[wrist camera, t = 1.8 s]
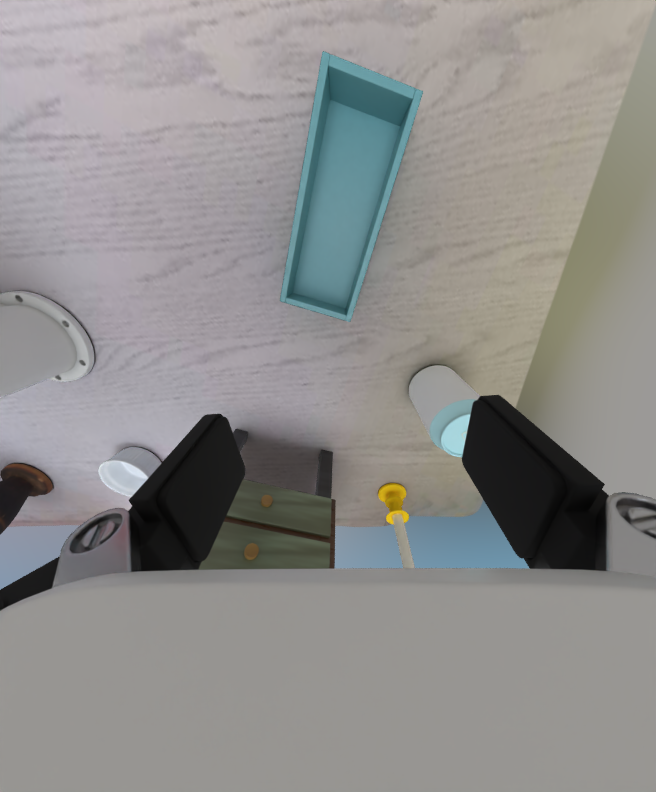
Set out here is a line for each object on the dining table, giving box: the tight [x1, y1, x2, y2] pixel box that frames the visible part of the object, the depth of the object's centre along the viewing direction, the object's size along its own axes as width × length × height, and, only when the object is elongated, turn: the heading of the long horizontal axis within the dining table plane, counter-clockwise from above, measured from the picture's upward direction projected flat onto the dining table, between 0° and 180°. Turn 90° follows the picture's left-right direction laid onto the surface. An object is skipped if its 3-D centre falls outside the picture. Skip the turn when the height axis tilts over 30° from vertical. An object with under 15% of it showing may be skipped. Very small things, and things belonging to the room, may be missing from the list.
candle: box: [378, 483, 415, 568], centre depth 40 cm, size 5×5×16 cm
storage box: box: [280, 51, 423, 322], centre depth 25 cm, size 18×8×5 cm, turn 164°
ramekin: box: [98, 447, 161, 497], centre depth 44 cm, size 9×9×4 cm
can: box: [409, 365, 480, 457], centre depth 31 cm, size 7×7×12 cm
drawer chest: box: [198, 429, 335, 570], centre depth 36 cm, size 17×18×22 cm
